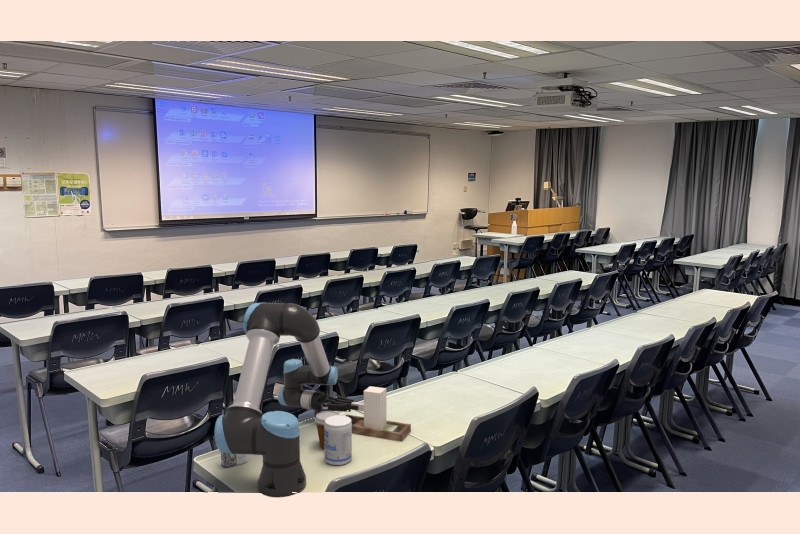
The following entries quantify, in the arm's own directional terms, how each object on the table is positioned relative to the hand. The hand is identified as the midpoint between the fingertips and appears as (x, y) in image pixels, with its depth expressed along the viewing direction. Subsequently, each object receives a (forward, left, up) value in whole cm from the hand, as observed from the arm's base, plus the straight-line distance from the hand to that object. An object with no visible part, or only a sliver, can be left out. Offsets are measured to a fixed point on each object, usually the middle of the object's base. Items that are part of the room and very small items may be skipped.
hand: (366, 407), depth 229 cm
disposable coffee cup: (-18, -8, -9) cm, 22 cm away
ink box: (-52, -8, -9) cm, 54 cm away
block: (+2, -3, -7) cm, 8 cm away
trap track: (+2, -2, -9) cm, 9 cm away
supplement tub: (-18, -20, -9) cm, 29 cm away
